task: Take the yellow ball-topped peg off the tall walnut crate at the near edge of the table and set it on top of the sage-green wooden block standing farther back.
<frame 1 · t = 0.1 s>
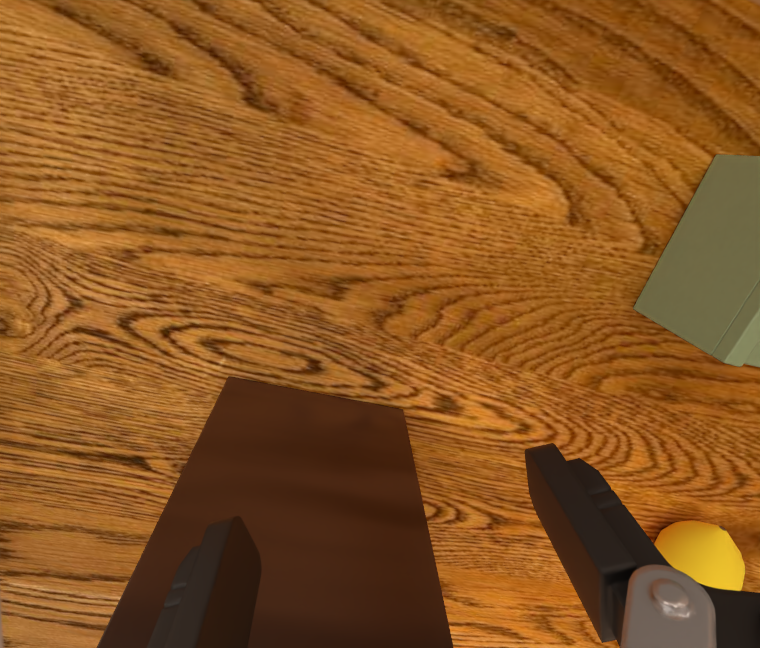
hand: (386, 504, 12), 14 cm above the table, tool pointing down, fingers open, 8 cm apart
block: (736, 256, 25), on the table
crate: (301, 461, 28), on the table
lemon: (669, 528, 34), on the table
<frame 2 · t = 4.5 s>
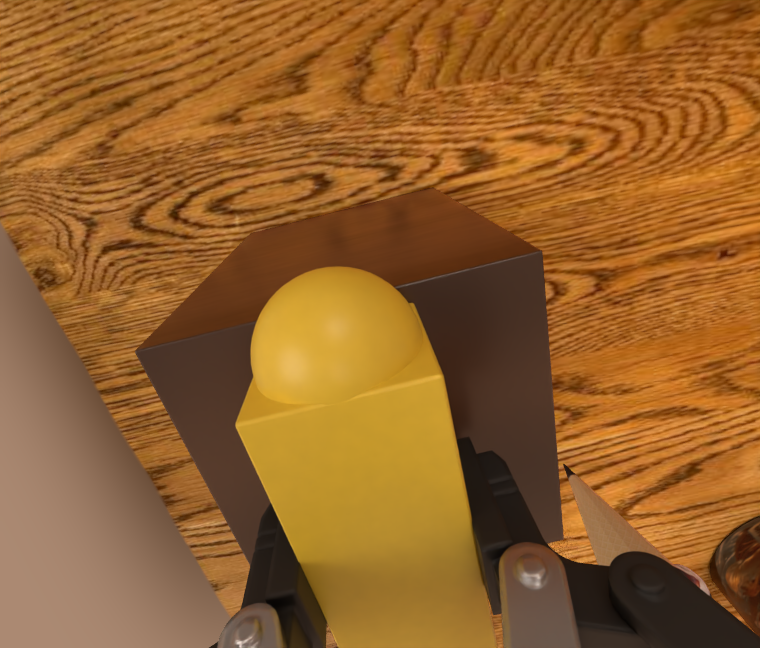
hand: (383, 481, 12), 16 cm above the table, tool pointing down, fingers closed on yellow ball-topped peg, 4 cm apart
yellow ball-topped peg: (382, 460, 13), point 15 cm above the table, touching crate, gripper
crate: (364, 296, 27), on the table
ice cream cone: (562, 463, 34), on the table
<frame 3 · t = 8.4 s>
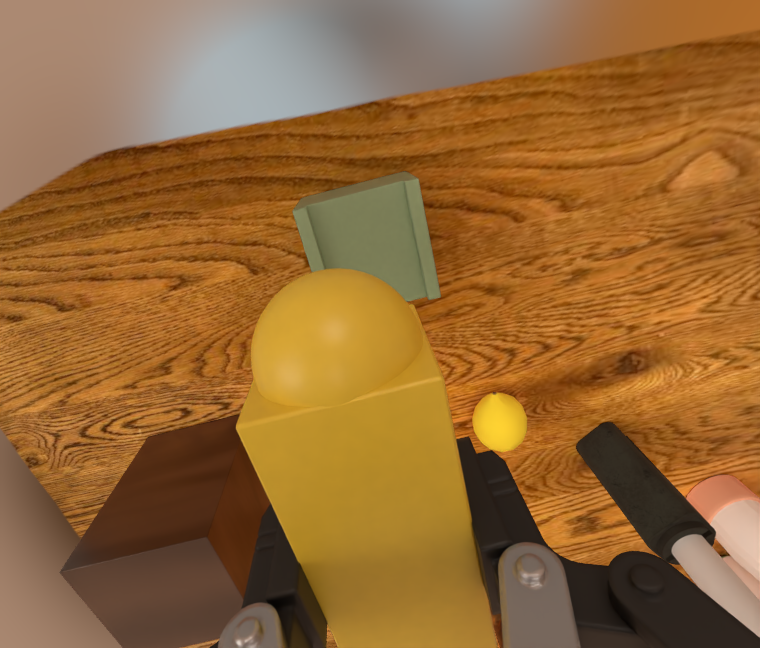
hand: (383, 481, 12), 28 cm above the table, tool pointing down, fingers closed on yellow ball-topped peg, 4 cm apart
cup: (716, 567, 60), on the table
salt shaker: (711, 495, 54), on the table
block: (366, 236, 37), on the table
candle: (601, 442, 49), on the table
yellow ball-topped peg: (382, 461, 13), point 27 cm above the table, touching gripper
crate: (219, 464, 46), on the table
lemon: (490, 404, 46), on the table
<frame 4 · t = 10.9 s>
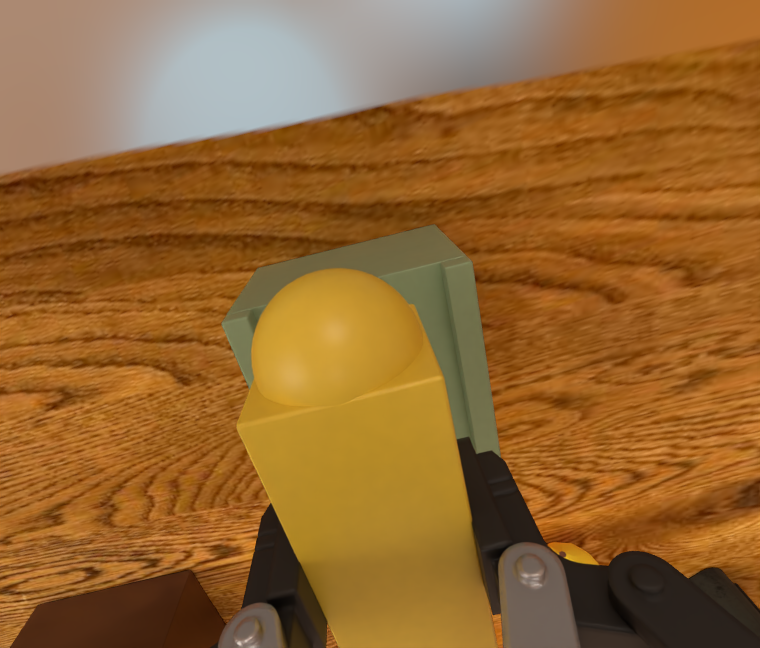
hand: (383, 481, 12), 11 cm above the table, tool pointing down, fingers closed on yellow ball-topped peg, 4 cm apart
block: (367, 326, 23), on the table
candle: (699, 590, 35), on the table
yellow ball-topped peg: (382, 461, 13), point 10 cm above the table, touching gripper
crate: (149, 633, 31), on the table
lemon: (547, 550, 31), on the table
when the fingers open (7 cm above the table, at t = 12.8 s): yellow ball-topped peg stays where it is, resting on block.
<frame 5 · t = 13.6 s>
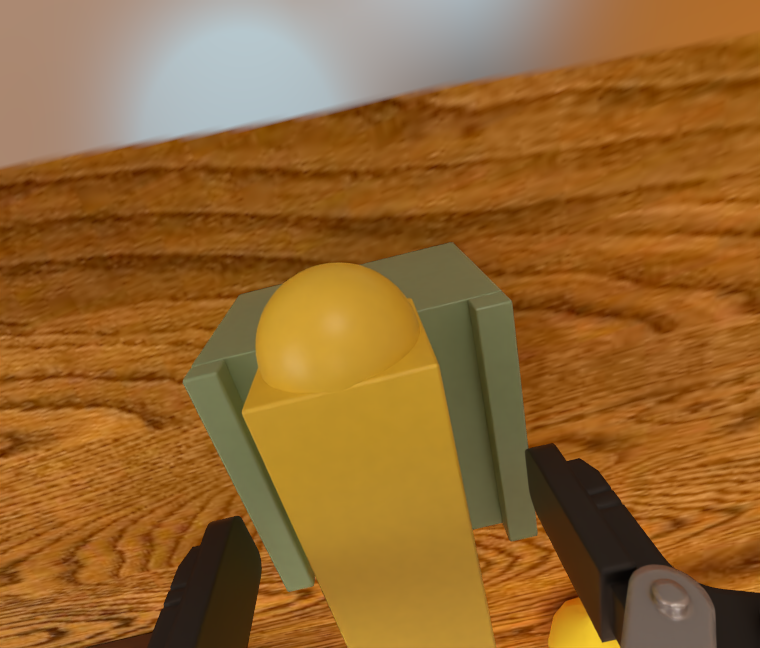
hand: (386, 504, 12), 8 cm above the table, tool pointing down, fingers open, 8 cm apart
block: (370, 361, 19), on the table, touching yellow ball-topped peg
yellow ball-topped peg: (381, 451, 14), point 6 cm above the table, touching block
lemon: (572, 602, 28), on the table
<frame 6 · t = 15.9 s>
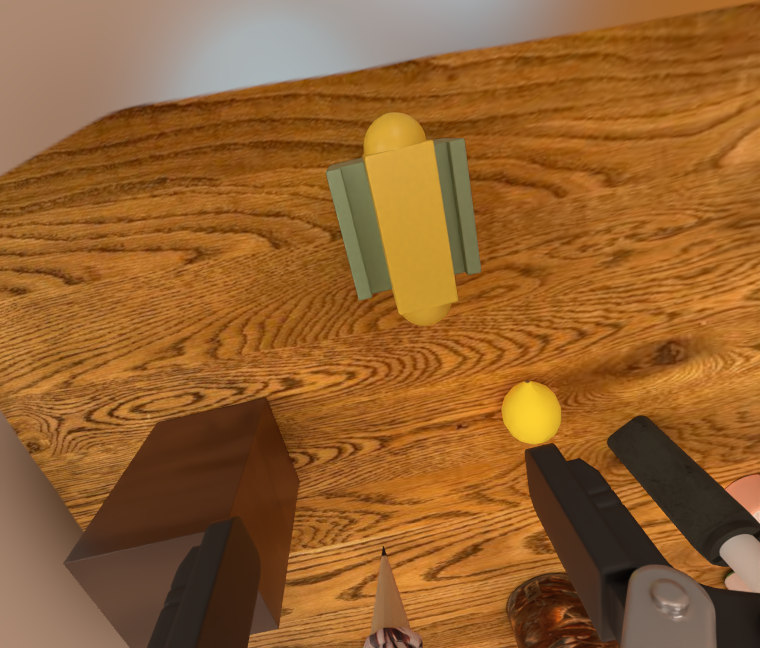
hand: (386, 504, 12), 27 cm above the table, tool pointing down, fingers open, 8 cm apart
cup: (744, 572, 58), on the table
salt shaker: (744, 495, 52), on the table
block: (397, 209, 35), on the table, touching yellow ball-topped peg
jar: (547, 600, 57), on the table
candle: (633, 437, 47), on the table
yellow ball-topped peg: (407, 223, 29), point 6 cm above the table, touching block
crate: (231, 453, 43), on the table
ice cream cone: (383, 545, 51), on the table
lemon: (519, 395, 43), on the table
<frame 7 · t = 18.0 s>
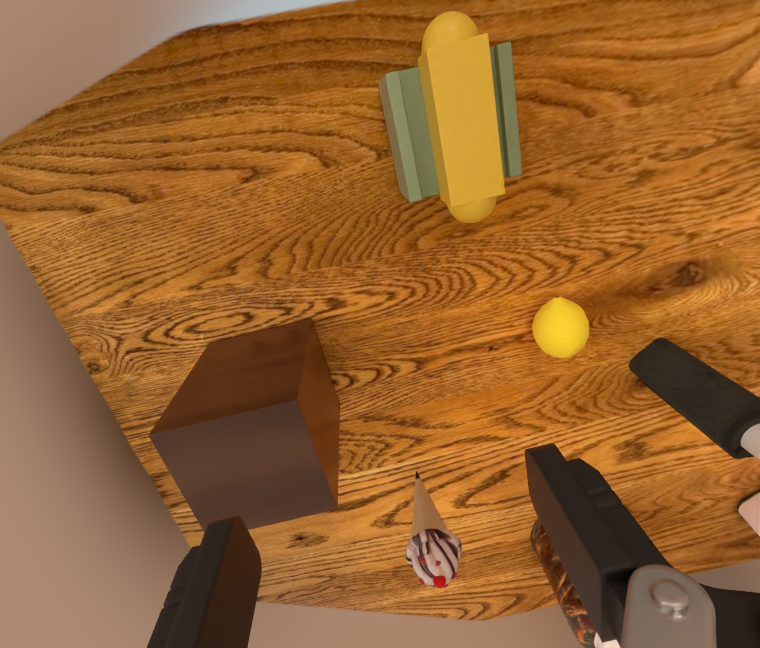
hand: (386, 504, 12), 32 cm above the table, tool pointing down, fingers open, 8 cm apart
cup: (757, 501, 60), on the table
block: (438, 128, 37), on the table, touching yellow ball-topped peg
jar: (570, 529, 60), on the table
candle: (653, 361, 49), on the table
yellow ball-topped peg: (455, 127, 32), point 6 cm above the table, touching block
crate: (277, 374, 46), on the table
ice cream cone: (416, 470, 53), on the table
lemon: (547, 316, 46), on the table
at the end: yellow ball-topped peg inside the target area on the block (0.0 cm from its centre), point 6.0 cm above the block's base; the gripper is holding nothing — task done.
